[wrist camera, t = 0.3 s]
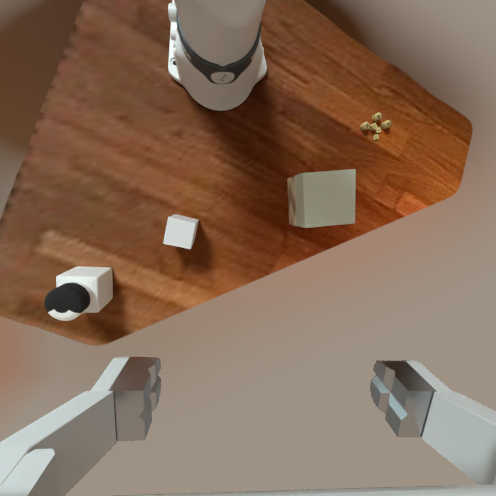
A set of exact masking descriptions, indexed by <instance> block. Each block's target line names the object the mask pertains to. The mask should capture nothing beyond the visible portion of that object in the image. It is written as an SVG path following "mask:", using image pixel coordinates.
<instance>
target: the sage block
mask: <svg viewBox="0 0 496 496" xmlns="http://www.w3.org/2000/svg"><path fill="white" fill-rule="evenodd" d="M355 174H356V169H350V170H336V171H322V172H308V173H301V174H298V175H295V199H296V224H297V226H300V227H303V228H311V227H322V226H332V225H342V224H353V223H355Z"/></svg>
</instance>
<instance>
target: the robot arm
mask: <svg viewBox="0 0 496 496" xmlns="http://www.w3.org/2000/svg"><path fill="white" fill-rule="evenodd" d="M265 1H266V0H172V3H169V9H168V10H169V20H170V21H171V30H170V46H169V63H168V71H169V74H170V76H171V77H172V78H173V79H174V80H176V81H177V82H179V83H180V84H182V85H183V86H184V87H185V88H186V90H187V91H188V92H189V94H190V95H191V96H192V97H193V99H194V100H196V101H197V102H198V103H199V104H201V105H202V106H204V107H206V108H209V109H212V110H217V111H225V110H230V109H233V108H235V107H237V106H239V105H240V104H241V103H243V102H244V101H245V100H246V98H247V97H248V96H249V94H250V92H251V90H252V89H253V87H254V85H255V84H256V83H257V82H258V81H259V80H261V79H262V78H263V77H264V76H265V74H266V71H267V66H266V61H265V57H264V48H263V47H262V43H261V39H260V34H261V18H262V13H263V9H264V5H265ZM175 62H176V65H173V64H174V63H175ZM160 364H161V362H160V359H159V358H152V357H115V358H114V359H113V360H112V361H111V363H110V364H109V366H108V367H107V368H106V370H105V371H104V373H103V374H102V375H101V377H100V378H99V379H98V381H97V382H96V384H95V385H94V387H93V388H92V389H91V391H85V392H83V393H82V394H80V395H78V396H77V397H75V398H73V399H72V400H70V401H68V402H67V403H65V404H63V405H62V406H60V407H58V408H57V409H55V410H53V411H52V412H50V413H48V414H47V415H45V416H43V417H42V418H40V419H38V420H37V421H35V422H33V423H31V424H30V425H28V426H26V427H25V428H24V429H22V430H20V431H18V432H16V433H15V434H13V435H11V436H10V437H8V438H7V439H5V440H3V441H1V442H0V496H65V495H66V494H67V493H68V492H69V491H70V490H71V488H73V487H74V486H75V485H76V484H77V483H78V482H79V480H81V479H82V478H83V477H84V476H85V474H87V473H88V472H89V471H90V469H92V468H93V466H94V465H95V464H96V463H97V462H98V461H99V460H100V459H101V458H102V457H103V456H104V455H105V454H106V453H107V452H108V451H109V450H110V449H111V448H112V447H113V446H114V445H115V444H116V441H135V440H145V439H146V436H147V433H148V430H149V427H150V425H151V422H152V412H153V411H154V410H155V409H156V407H157V404H158V401H159V396H160V390H161V378H160V377H159V376H158V374H159V371H160V369H161V365H160ZM373 370H374V372H375V374H376V376H375V377H374V378H373V379H372V380H371V385H370V390H371V396H372V398H373V401H374V403H375V404H376V406H377V407H378V408H379V409H380V410H381V411H383V412H384V413H386V417H385V419H386V421H387V422H388V424H389V425H390V426H391V428H392V429H393V431H394V432H395V434H396V435H397V437H422V439H423V440H424V441H425V442H426V443H428V444H429V445H430V446H431V447H433V448H434V449H435V450H436V451H438V452H439V453H440V454H441V455H443V456H444V457H445V458H446V459H448V460H449V461H450V462H451V463H452V464H454V465H455V466H456V467H457V468H459V469H460V470H461V471H462V472H464V473H465V474H466V475H468V477H470V478H471V479H472V480H473V481H475V482H476V483H478V485H452V486H422V487H421V486H420V487H419V486H418V487H387V488H386V487H384V488H350V489H316V490H284V491H251V492H250V491H249V492H216V493H183V494H151V495H115V496H496V411H494V410H492V409H490V408H488V407H486V406H484V405H481V404H480V403H478V402H476V401H474V400H472V399H470V398H468V397H466V396H464V395H462V394H460V393H458V392H452V391H451V390H450V389H449V388H448V387H446V386H445V385H444V384H443V383H442V382H441V381H440V380H439V379H437V377H435V376H434V375H433V374H432V373H431V372H430V371H429V370H428V369H427V368H425V367H424V366H423V365H422V364H421V363H420V362H418V361H416V360H402V361H376V363H375V365H374V369H373Z"/></svg>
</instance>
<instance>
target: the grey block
mask: <svg viewBox="0 0 496 496" xmlns="http://www.w3.org/2000/svg"><path fill="white" fill-rule="evenodd" d="M198 222H199V220H198V219H193V218H189V217H185V216H180V215H176V214H175V215H172V216H169V217H168V221H167V226H166V231H165V237H164V242H163V244H168V245H172V246H177V247H182V248H187V249H191V247H192V245H193V243H194V241H195V236H196V231H197V226H198Z"/></svg>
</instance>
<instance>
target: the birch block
mask: <svg viewBox="0 0 496 496" xmlns="http://www.w3.org/2000/svg"><path fill="white" fill-rule="evenodd" d="M287 183H288V209H289V224H290V225H293V226H297V224H296V199H295V177H291V178H287Z"/></svg>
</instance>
